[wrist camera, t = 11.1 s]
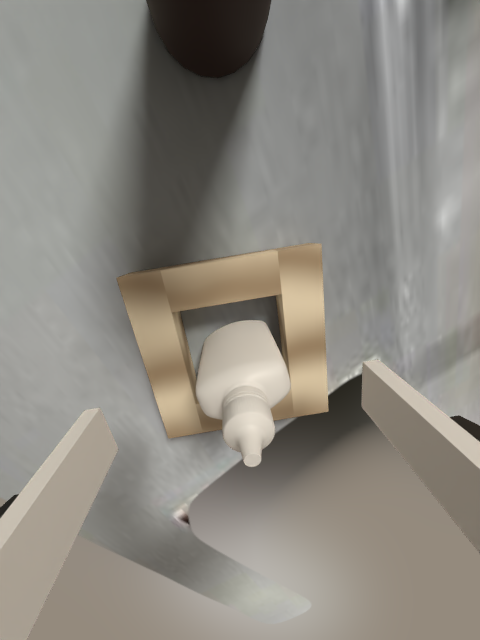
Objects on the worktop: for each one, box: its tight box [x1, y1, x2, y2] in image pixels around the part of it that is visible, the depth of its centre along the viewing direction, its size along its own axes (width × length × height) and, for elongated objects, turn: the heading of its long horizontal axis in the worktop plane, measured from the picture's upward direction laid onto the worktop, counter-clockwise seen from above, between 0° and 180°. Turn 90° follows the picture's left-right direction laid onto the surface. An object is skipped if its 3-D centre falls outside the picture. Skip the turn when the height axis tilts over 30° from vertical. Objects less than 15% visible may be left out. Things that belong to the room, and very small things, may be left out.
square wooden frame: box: [116, 243, 328, 438], centre depth 20 cm, size 14×14×2 cm
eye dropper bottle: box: [196, 320, 291, 467], centre depth 15 cm, size 4×6×12 cm
